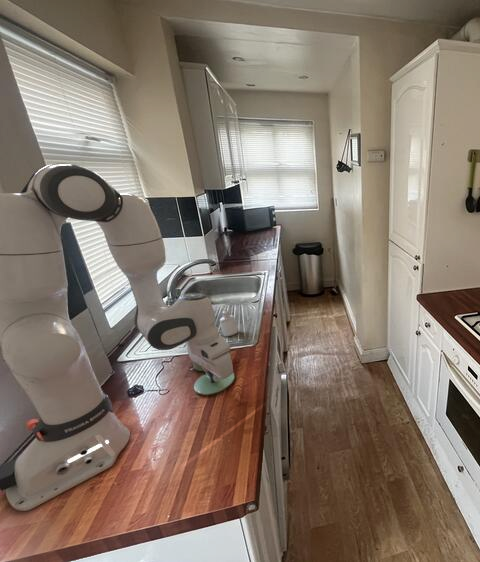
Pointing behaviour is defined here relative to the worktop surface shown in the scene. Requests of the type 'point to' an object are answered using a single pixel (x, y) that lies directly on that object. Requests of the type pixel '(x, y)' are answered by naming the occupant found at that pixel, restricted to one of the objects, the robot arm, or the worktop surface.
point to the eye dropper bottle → (228, 324)
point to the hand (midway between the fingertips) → (213, 378)
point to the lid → (212, 384)
